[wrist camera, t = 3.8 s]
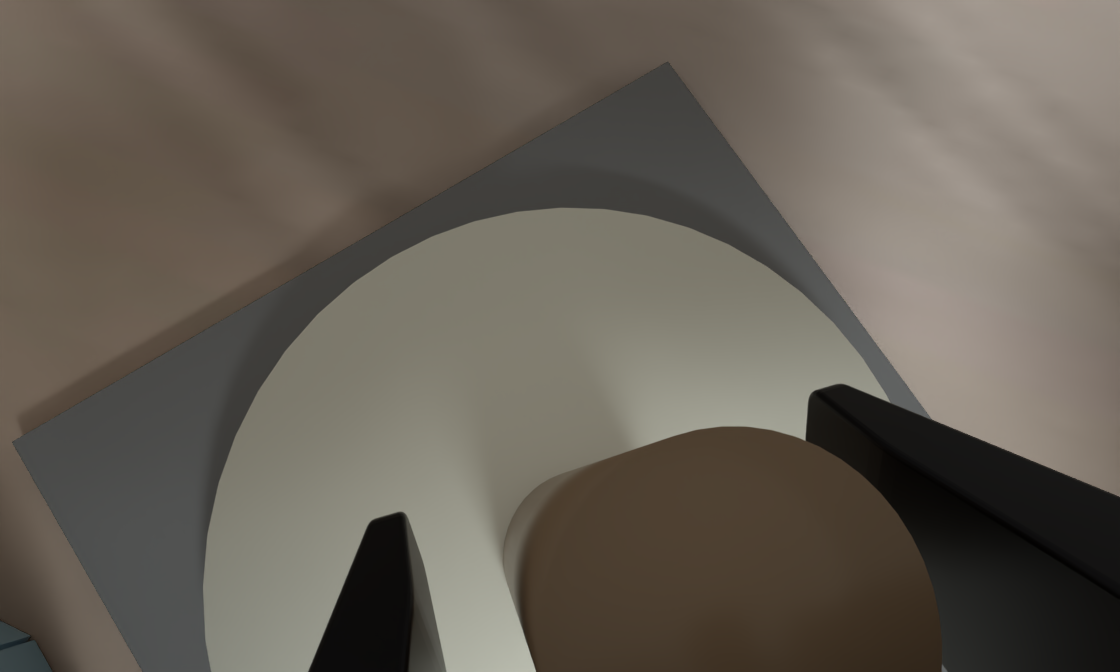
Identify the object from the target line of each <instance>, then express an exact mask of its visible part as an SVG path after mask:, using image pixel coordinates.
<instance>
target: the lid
mask: <svg viewBox="0 0 1120 672" xmlns="http://www.w3.org/2000/svg"><path fill="white" fill-rule="evenodd" d="M835 384H845V385H849V386H851V387H854V388H856V389H858V390H861V391H863V392H866V393H868V394H871V395H873V396H875V397H878V398H880V399H883V400H885V401H888V402H890V401H889V399H888V397H887V395H886V394H885V392H884V390H883V389H882V387H881V386H880V384H879V383H878V381H877V380H876V378H875V377H874V375H873V373H872V372H871V370H870V369H869V367H868V366H867V364H866V363H865V361H864V359H863V358H862V357H861V355H860V354H859V353H858V352H857V351H856V349H855V348H854V347H853V346H852V345H851V343H850V342H849V341H848V340H847V338H846V337H845V336H844V335H843V334H842V332H841V331H840V330H839V329H838V328H837V326H836V325H835V324H834V323H833V322H832V321H831V320H830V319H829V318H828V317H827V316H826V315H825V314H824V313H823V312H822V311H821V310H820V309H818V308H817V307H816V306H815V305H814V304H813V303H812V302H811V301H810V300H809V299H808V298H807V297H806V296H805V295H804V294H803V293H802V292H800V291H799V290H798V289H796V288H795V287H794V286H792V285H791V284H790V283H788V282H787V281H786V280H784V279H783V278H782V277H780V276H779V275H778V274H776V273H775V272H774V271H772V270H771V269H770V268H768V267H767V266H765V265H764V264H762V263H760V262H758V261H757V260H755V259H753V258H751V257H750V256H748V255H746V254H744V253H743V252H741V251H739V250H737V249H736V248H734V247H732V246H731V245H729V244H726V243H724V242H722V241H719V240H717V239H715V238H712V237H710V236H708V235H705V234H703V233H700V232H698V231H696V230H693V229H691V228H689V227H685V226H682V225H678V224H675V223H671V222H668V221H664V220H661V219H657V218H654V217H650V216H646V215H640V214H633V213H627V212H620V211H614V210H608V209H588V208H552V209H541V210H531V211H520V212H514V213H509V214H505V215H500V216H496V217H491V218H487V219H482V220H478V221H474V222H471V223H468V224H465V225H463V226H460V227H457V228H454V229H451V230H449V231H446V232H443V233H440V234H437V235H435V236H432V237H430V238H428V239H426V240H424V241H422V242H420V243H418V244H416V245H414V246H412V247H410V248H408V249H406V250H404V251H402V252H400V253H398V254H396V255H395V256H393V257H391V258H389V259H388V260H386V261H385V262H383V263H382V264H380V265H379V266H378V267H376V268H375V269H373V270H372V271H370V272H369V273H367V274H366V275H364V276H363V277H361V278H360V279H358V280H357V281H355V282H354V283H353V284H351V285H350V286H349V287H348V288H347V289H346V290H345V291H343V292H342V293H341V294H340V295H339V296H338V297H337V298H336V299H334V300H333V301H332V302H331V303H330V304H329V305H328V306H326V307H325V308H324V309H323V310H322V311H321V312H320V313H319V314H317V316H316V317H315V318H314V319H313V320H312V321H311V322H310V323H309V325H308V326H307V327H306V328H305V329H304V330H303V331H302V333H301V334H300V335H299V336H298V337H297V338H296V339H295V340H294V342H293V343H292V344H291V345H290V346H289V347H288V348H287V350H286V351H285V352H284V354H283V355H282V357H281V358H280V360H279V361H278V363H277V364H276V366H275V367H274V368H273V370H272V371H271V373H270V374H269V376H268V377H267V379H266V380H265V382H264V383H263V385H262V386H261V388H260V389H259V391H258V392H257V394H256V396H255V398H254V400H253V402H252V404H251V406H250V408H249V410H248V412H247V414H246V416H245V418H244V420H243V422H242V424H241V426H240V428H239V430H238V432H237V434H236V436H235V439H234V441H233V444H232V447H231V450H230V453H229V455H228V458H227V461H226V464H225V467H224V469H223V472H222V475H221V478H220V481H219V483H218V488H217V493H216V497H215V502H214V506H213V511H212V515H211V520H210V525H209V529H208V534H207V545H206V557H205V568H204V580H203V599H204V621H205V641H206V646H207V652H208V657H209V663H210V669H211V672H308V671H309V668H310V666H311V663H312V661H313V658H314V656H315V653H316V651H317V649H318V646H319V644H320V641H321V639H322V636H323V634H324V631H325V629H326V626H327V624H328V621H329V619H330V617H331V614H332V612H333V609H334V607H335V604H336V602H337V599H338V597H339V594H340V592H341V589H342V587H343V585H344V582H345V580H346V577H347V575H348V572H349V570H350V567H351V565H352V562H353V560H354V557H355V555H356V553H357V550H358V548H359V545H360V543H361V540H362V538H363V535H364V533H365V530H366V528H367V526H368V524H369V522H370V521H371V520H373V519H375V518H379V517H382V516H385V515H389V514H392V513H396V512H400V511H401V512H404V513H405V514H406V515H407V517H408V519H409V522H410V525H411V528H412V531H413V533H414V536H415V539H416V542H417V545H418V548H419V551H420V554H421V557H422V560H423V563H424V567H425V571H426V576H427V580H428V585H429V590H430V595H431V600H432V604H433V609H434V614H435V619H436V624H437V628H438V633H439V638H440V643H441V647H442V652H443V657H444V662H445V667H446V671H447V672H942V637H941V627H940V617H939V612H938V607H937V603H936V598H935V594H934V589H933V586H932V583H931V580H930V577H929V574H928V571H927V568H926V566H925V563H924V560H923V558H922V556H921V554H920V552H919V550H918V548H917V546H916V544H915V542H914V540H913V538H912V536H911V534H910V533H909V531H908V530H907V528H906V526H905V525H904V523H903V522H902V520H901V518H900V517H899V515H898V514H897V513H896V511H895V510H894V509H893V508H892V506H891V505H890V504H889V503H888V502H887V500H886V499H885V498H884V497H883V495H882V494H881V493H880V492H879V491H878V490H877V489H876V488H875V487H874V486H873V485H872V484H871V483H870V482H869V481H868V480H867V479H866V478H864V477H863V476H862V475H861V474H860V473H859V472H857V471H856V470H855V469H853V468H852V467H851V466H849V465H848V464H847V463H845V462H844V461H843V460H841V459H840V458H838V457H836V456H835V455H833V454H831V453H829V452H828V451H826V450H824V449H822V448H821V447H819V446H817V445H814V444H812V443H810V442H807V441H805V435H806V422H807V408H808V399H809V396H810V394H811V393H812V392H813V391H815V390H817V389H821V388H824V387H828V386H831V385H835Z"/></svg>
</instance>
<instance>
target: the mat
mask: <svg viewBox="0 0 1120 672" xmlns="http://www.w3.org/2000/svg"><path fill="white" fill-rule="evenodd" d="M552 208H588V209H608V210H614V211H620V212H627V213H633V214H640V215H646V216H650V217H654V218H657V219H661V220H664V221H668V222H671V223H675V224H678V225H682V226H685V227H689V228H691V229H693V230H696V231H698V232H700V233H703V234H705V235H708V236H710V237H712V238H715V239H717V240H719V241H722V242H724V243H726V244H729V245H731V246H732V247H734V248H736V249H737V250H739V251H741V252H743V253H744V254H746V255H748V256H750V257H751V258H753V259H755V260H757V261H758V262H760V263H762V264H764V265H765V266H767V267H768V268H770V269H771V270H772V271H774V272H775V273H776V274H778V275H779V276H780V277H782V278H783V279H784V280H786V281H787V282H788V283H790V284H791V285H792V286H794V287H795V288H796V289H798V290H799V291H800V292H802V293H803V294H804V295H805V296H806V297H807V298H808V299H809V300H810V301H811V302H812V303H813V304H814V305H815V306H816V307H817V308H818V309H820V310H821V311H822V312H823V313H824V314H825V315H826V316H827V317H828V318H829V319H830V320H831V321H832V322H833V323H834V324H835V325H836V326H837V328H838V329H839V330H840V331H841V332H842V334H843V335H844V336H845V337H846V338H847V340H848V341H849V342H850V343H851V345H852V346H853V347H854V348H855V349H856V351H857V352H858V353H859V354H860V355H861V357H862V358H863V359H864V361H865V363H866V364H867V366H868V367H869V369H870V370H871V372H872V373H873V375H874V377H875V378H876V380H877V381H878V383H879V384H880V386H881V387H882V389H883V390H884V392H885V394H886V395H887V397H888V399H889V401H890V403H892V404H895V405H897V406H900V407H902V408H905V409H907V410H909V411H912V412H914V413H917V414H919V415H922V416H924V417H926V418H929V419H931V418H930V416H929V415H928V414H927V412H926V411H925V410H924V408H923V407H922V406H921V404H920V403H919V401H918V400H917V399H916V397H915V396H914V395H913V393H912V392H911V391H910V389H909V388H908V387H907V385H906V384H905V382H904V381H903V380H902V378H901V377H900V376H899V374H898V373H897V372H896V370H895V369H894V368H893V366H892V365H891V364H890V362H889V361H888V359H887V358H886V357H885V355H884V354H883V353H882V351H881V350H880V349H879V347H878V346H877V345H876V343H875V342H874V340H873V339H872V338H871V336H870V335H869V334H868V332H867V331H866V330H865V328H864V327H863V326H862V324H861V323H860V321H859V320H858V319H857V317H856V316H855V315H854V313H853V312H852V311H851V309H850V308H849V307H848V305H847V304H846V302H845V301H844V300H843V298H842V297H841V296H840V294H839V293H838V292H837V290H836V289H835V288H834V286H833V285H832V284H831V282H830V281H829V279H828V278H827V277H826V275H825V274H824V273H823V271H822V270H821V269H820V267H819V266H818V265H817V263H816V262H815V260H814V259H813V258H812V256H811V255H810V254H809V252H808V251H807V250H806V248H805V247H804V246H803V244H802V243H801V241H800V240H799V239H798V237H797V236H796V235H795V233H794V232H793V231H792V229H791V228H790V227H789V225H788V224H787V223H786V221H785V220H784V218H783V217H782V216H781V214H780V213H779V212H778V210H777V209H776V208H775V206H774V205H773V204H772V202H771V201H770V199H769V198H768V197H767V195H766V194H765V193H764V191H763V190H762V189H761V187H760V186H759V185H758V183H757V182H756V180H755V179H754V178H753V176H752V175H751V174H750V172H749V171H748V170H747V168H746V167H745V166H744V164H743V163H742V161H741V160H740V159H739V157H738V156H737V155H736V153H735V152H734V151H733V149H732V148H731V147H730V145H729V144H728V143H727V141H726V140H725V138H724V137H723V136H722V134H721V133H720V132H719V130H718V129H717V128H716V126H715V125H714V124H713V122H712V121H711V119H710V118H709V117H708V115H707V114H706V113H705V111H704V110H703V109H702V107H701V106H700V105H699V103H698V102H697V100H696V99H695V98H694V96H693V95H692V94H691V92H690V91H689V90H688V88H687V87H686V86H685V84H684V83H683V82H682V80H681V79H680V77H679V76H678V75H677V73H676V72H675V71H674V69H673V68H672V67H671V65H670V64H669V63H668V62H666V63H665V64H663V65H661V66H660V67H658V68H656V69H654V70H653V71H651V72H649V73H647V74H646V75H644V76H642V77H641V78H639V79H637V80H635V81H634V82H632V83H630V84H628V85H627V86H625V87H623V88H622V89H620V90H618V91H616V92H615V93H613V94H611V95H610V96H608V97H606V98H604V99H603V100H601V101H599V102H597V103H596V104H594V105H592V106H591V107H589V108H587V109H585V110H584V111H582V112H580V113H578V114H577V115H575V116H573V117H572V118H570V119H568V120H566V121H565V122H563V123H561V124H559V125H558V126H556V127H554V128H553V129H551V130H549V131H547V132H546V133H544V134H542V135H541V136H539V137H537V138H535V139H534V140H532V141H530V142H528V143H527V144H525V145H523V146H522V147H520V148H518V149H516V150H515V151H513V152H511V153H509V154H508V155H506V156H504V157H503V158H501V159H499V160H497V161H496V162H494V163H492V164H491V165H489V166H487V167H485V168H484V169H482V170H480V171H478V172H477V173H475V174H473V175H472V176H470V177H468V178H466V179H465V180H463V181H461V182H459V183H458V184H456V185H454V186H453V187H451V188H449V189H447V190H446V191H444V192H442V193H441V194H439V195H437V196H435V197H434V198H432V199H430V200H428V201H427V202H425V203H423V204H422V205H420V206H418V207H416V208H415V209H413V210H411V211H409V212H408V213H406V214H404V215H403V216H401V217H399V218H397V219H396V220H394V221H392V222H391V223H389V224H387V225H385V226H384V227H382V228H380V229H378V230H377V231H375V232H373V233H372V234H370V235H368V236H366V237H365V238H363V239H361V240H359V241H358V242H356V243H354V244H353V245H351V246H349V247H347V248H346V249H344V250H342V251H341V252H339V253H337V254H335V255H334V256H332V257H330V258H328V259H327V260H325V261H323V262H322V263H320V264H318V265H316V266H315V267H313V268H311V269H309V270H308V271H306V272H304V273H303V274H301V275H299V276H297V277H296V278H294V279H292V280H290V281H289V282H287V283H285V284H284V285H282V286H280V287H278V288H277V289H275V290H273V291H272V292H270V293H268V294H266V295H265V296H263V297H261V298H259V299H258V300H256V301H254V302H253V303H251V304H249V305H247V306H246V307H244V308H242V309H240V310H239V311H237V312H235V313H234V314H232V315H230V316H228V317H227V318H225V319H223V320H222V321H220V322H218V323H216V324H215V325H213V326H211V327H209V328H208V329H206V330H204V331H203V332H201V333H199V334H197V335H196V336H194V337H192V338H190V339H189V340H187V341H185V342H184V343H182V344H180V345H178V346H177V347H175V348H173V349H172V350H170V351H168V352H166V353H165V354H163V355H161V356H159V357H158V358H156V359H154V360H153V361H151V362H149V363H147V364H146V365H144V366H142V367H140V368H139V369H137V370H135V371H134V372H132V373H130V374H128V375H127V376H125V377H123V378H122V379H120V380H118V381H116V382H115V383H113V384H111V385H109V386H108V387H106V388H104V389H103V390H101V391H99V392H97V393H96V394H94V395H92V396H90V397H89V398H87V399H85V400H84V401H82V402H80V403H78V404H77V405H75V406H73V407H71V408H70V409H68V410H66V411H65V412H63V413H61V414H59V415H58V416H56V417H54V418H53V419H51V420H49V421H47V422H46V423H44V424H42V425H40V426H39V427H37V428H35V429H34V430H32V431H30V432H28V433H27V434H25V435H23V436H21V437H20V438H18V439H16V440H15V441H13V442H12V443H13V445H14V446H15V448H16V450H17V452H18V454H19V455H20V457H21V459H22V461H23V462H24V464H25V466H26V468H27V469H28V471H29V473H30V475H31V476H32V478H33V480H34V482H35V483H36V485H37V487H38V489H39V490H40V492H41V494H42V496H43V497H44V499H45V501H46V503H47V505H48V506H49V508H50V510H51V512H52V513H53V515H54V517H55V519H56V520H57V522H58V524H59V526H60V527H61V529H62V531H63V533H64V534H65V536H66V538H67V540H68V541H69V543H70V545H71V547H72V548H73V550H74V552H75V554H76V555H77V557H78V559H79V561H80V563H81V564H82V566H83V568H84V570H85V571H86V573H87V575H88V577H89V578H90V580H91V582H92V584H93V585H94V587H95V589H96V591H97V592H98V594H99V596H100V598H101V599H102V601H103V603H104V605H105V606H106V608H107V610H108V612H109V613H110V615H111V617H112V619H113V621H114V622H115V624H116V626H117V628H118V629H119V631H120V633H121V635H122V636H123V638H124V640H125V642H126V643H127V645H128V647H129V649H130V650H131V652H132V654H133V656H134V657H135V659H136V661H137V663H138V664H139V666H140V668H141V670H142V671H143V672H211V669H210V663H209V657H208V652H207V646H206V641H205V621H204V599H203V580H204V568H205V557H206V545H207V534H208V529H209V525H210V520H211V515H212V511H213V506H214V502H215V497H216V493H217V488H218V483H219V481H220V478H221V475H222V472H223V469H224V467H225V464H226V461H227V458H228V455H229V453H230V450H231V447H232V444H233V441H234V439H235V436H236V434H237V432H238V430H239V428H240V426H241V424H242V422H243V420H244V418H245V416H246V414H247V412H248V410H249V408H250V406H251V404H252V402H253V400H254V398H255V396H256V394H257V392H258V391H259V389H260V388H261V386H262V385H263V383H264V382H265V380H266V379H267V377H268V376H269V374H270V373H271V371H272V370H273V368H274V367H275V366H276V364H277V363H278V361H279V360H280V358H281V357H282V355H283V354H284V352H285V351H286V350H287V348H288V347H289V346H290V345H291V344H292V343H293V342H294V340H295V339H296V338H297V337H298V336H299V335H300V334H301V333H302V331H303V330H304V329H305V328H306V327H307V326H308V325H309V323H310V322H311V321H312V320H313V319H314V318H315V317H316V316H317V314H319V313H320V312H321V311H322V310H323V309H324V308H325V307H326V306H328V305H329V304H330V303H331V302H332V301H333V300H334V299H336V298H337V297H338V296H339V295H340V294H341V293H342V292H343V291H345V290H346V289H347V288H348V287H349V286H350V285H351V284H353V283H354V282H355V281H357V280H358V279H360V278H361V277H363V276H364V275H366V274H367V273H369V272H370V271H372V270H373V269H375V268H376V267H378V266H379V265H380V264H382V263H383V262H385V261H386V260H388V259H389V258H391V257H393V256H395V255H396V254H398V253H400V252H402V251H404V250H406V249H408V248H410V247H412V246H414V245H416V244H418V243H420V242H422V241H424V240H426V239H428V238H430V237H432V236H435V235H437V234H440V233H443V232H446V231H449V230H451V229H454V228H457V227H460V226H463V225H465V224H468V223H471V222H474V221H478V220H482V219H487V218H491V217H496V216H500V215H505V214H509V213H514V212H520V211H531V210H541V209H552ZM931 420H932V419H931ZM942 672H947V671H946V669H945V668H944V667H943V665H942Z"/></svg>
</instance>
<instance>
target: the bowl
mask: <svg viewBox="0 0 1120 672" xmlns="http://www.w3.org/2000/svg"><path fill="white" fill-rule="evenodd" d="M29 637H30V635H28V634H26V633H24V632H22V631H20V630H18V629H16V628H14V627H12V626H10V625H8V624H6V623H4V622H2V621H0V672H52V670H51V668H50V667H49V665H48V663H47V661H46V659H45V658H44V656H43V654H42V652H41V650H40V649H39V647H38V645H37V643H36V641H35V640H32V641H29V642H27V641H28V639H29Z"/></svg>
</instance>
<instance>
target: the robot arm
mask: <svg viewBox="0 0 1120 672" xmlns="http://www.w3.org/2000/svg"><path fill="white" fill-rule="evenodd" d="M805 441H807V442H810V443H812V444H814V445H817V446H819V447H821V448H822V449H824V450H826V451H828V452H829V453H831V454H833V455H835V456H836V457H838V458H840V459H841V460H843V461H844V462H845V463H847V464H848V465H849V466H851V467H852V468H853V469H855V470H856V471H857V472H859V473H860V474H861V475H862V476H863V477H864V478H866V479H867V480H868V481H869V482H870V483H871V484H872V485H873V486H874V487H875V488H876V489H877V490H878V491H879V492H880V493H881V494H882V495H883V497H884V498H885V499H886V500H887V502H888V503H889V504H890V505H891V506H892V508H893V509H894V510H895V511H896V513H897V514H898V515H899V517H900V518H901V520H902V522H903V523H904V525H905V526H906V528H907V530H908V531H909V533H910V534H911V536H912V538H913V540H914V542H915V544H916V546H917V548H918V550H919V552H920V554H921V556H922V558H923V560H924V563H925V566H926V568H927V571H928V574H929V577H930V580H931V583H932V586H933V589H934V594H935V598H936V603H937V607H938V612H939V617H940V627H941V637H942V665H943V667H944V668H945V669H946V671H947V672H1120V497H1119V496H1116V495H1114V494H1111V493H1109V492H1107V491H1104V490H1102V489H1099V488H1097V487H1094V486H1092V485H1089V484H1087V483H1085V482H1082V481H1080V480H1077V479H1075V478H1072V477H1070V476H1068V475H1065V474H1063V473H1060V472H1058V471H1055V470H1053V469H1051V468H1048V467H1046V466H1043V465H1041V464H1038V463H1036V462H1034V461H1031V460H1029V459H1026V458H1024V457H1021V456H1019V455H1017V454H1014V453H1012V452H1009V451H1007V450H1004V449H1002V448H999V447H997V446H995V445H992V444H990V443H987V442H985V441H982V440H980V439H978V438H975V437H973V436H970V435H968V434H965V433H963V432H961V431H958V430H956V429H953V428H951V427H948V426H946V425H944V424H941V423H939V422H936V421H934V420H931V419H929V418H926V417H924V416H922V415H919V414H917V413H914V412H912V411H909V410H907V409H905V408H902V407H900V406H897V405H895V404H892V403H890V402H888V401H885V400H883V399H880V398H878V397H875V396H873V395H871V394H868V393H866V392H863V391H861V390H858V389H856V388H854V387H851V386H849V385H845V384H835V385H831V386H828V387H824V388H821V389H817V390H815V391H813V392H812V393H811V394H810V396H809V399H808V408H807V422H806V435H805ZM308 672H447V671H446V667H445V662H444V657H443V652H442V647H441V643H440V638H439V633H438V628H437V624H436V619H435V614H434V609H433V604H432V600H431V595H430V590H429V585H428V580H427V576H426V571H425V567H424V563H423V560H422V557H421V554H420V551H419V548H418V545H417V542H416V539H415V536H414V533H413V531H412V528H411V525H410V522H409V519H408V517H407V515H406V514H405V513H404V512H401V511H400V512H396V513H392V514H389V515H385V516H382V517H379V518H375V519H373V520H371V521H370V522H369V524H368V526H367V528H366V530H365V533H364V535H363V538H362V540H361V543H360V545H359V548H358V550H357V553H356V555H355V557H354V560H353V562H352V565H351V567H350V570H349V572H348V575H347V577H346V580H345V582H344V585H343V587H342V589H341V592H340V594H339V597H338V599H337V602H336V604H335V607H334V609H333V612H332V614H331V617H330V619H329V621H328V624H327V626H326V629H325V631H324V634H323V636H322V639H321V641H320V644H319V646H318V649H317V651H316V653H315V656H314V658H313V661H312V663H311V666H310V668H309V671H308Z"/></svg>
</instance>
